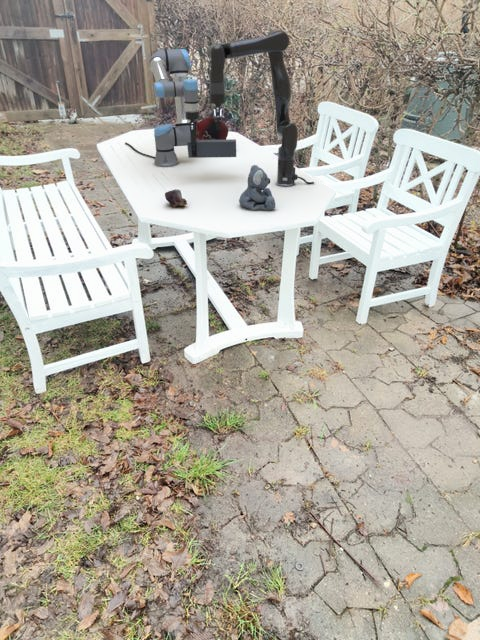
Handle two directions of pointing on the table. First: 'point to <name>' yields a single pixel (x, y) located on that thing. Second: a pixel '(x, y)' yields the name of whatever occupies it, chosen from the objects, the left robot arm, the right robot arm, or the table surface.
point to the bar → (213, 148)
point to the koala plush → (257, 191)
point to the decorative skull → (211, 130)
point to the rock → (175, 198)
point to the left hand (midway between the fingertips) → (194, 154)
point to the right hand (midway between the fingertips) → (218, 127)
